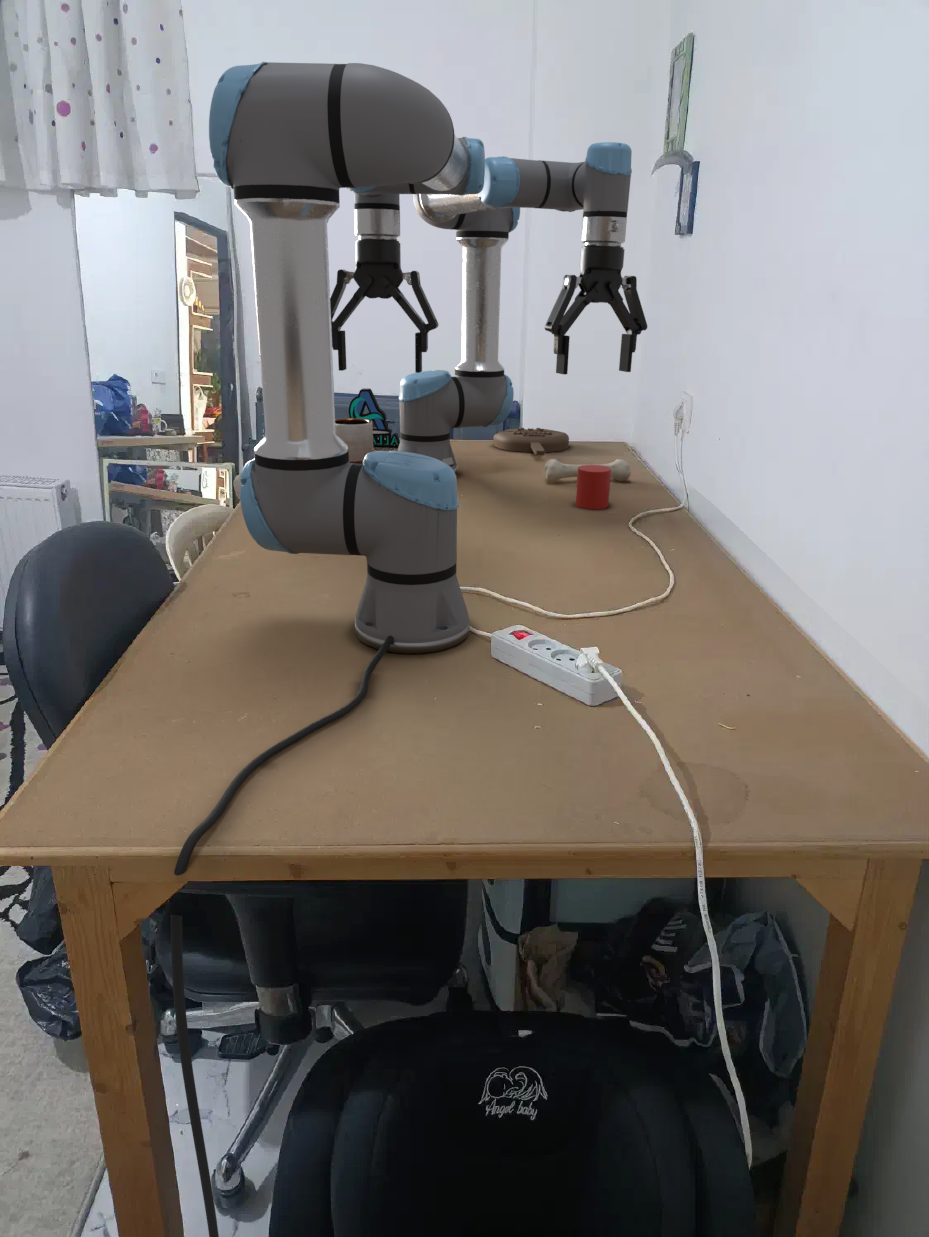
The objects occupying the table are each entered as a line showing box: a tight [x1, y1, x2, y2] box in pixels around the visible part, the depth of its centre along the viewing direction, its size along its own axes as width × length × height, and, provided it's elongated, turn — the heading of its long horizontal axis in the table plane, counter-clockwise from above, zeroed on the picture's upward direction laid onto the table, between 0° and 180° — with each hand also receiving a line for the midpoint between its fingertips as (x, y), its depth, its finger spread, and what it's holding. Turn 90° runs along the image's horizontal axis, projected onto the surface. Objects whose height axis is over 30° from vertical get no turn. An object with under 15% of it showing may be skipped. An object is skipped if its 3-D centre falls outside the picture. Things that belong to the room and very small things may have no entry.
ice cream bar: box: [492, 427, 570, 457], centre depth 228 cm, size 21×28×4 cm
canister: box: [575, 465, 612, 510], centre depth 175 cm, size 7×7×8 cm
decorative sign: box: [348, 387, 400, 448], centre depth 229 cm, size 19×2×15 cm, turn 86°
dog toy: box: [543, 458, 632, 482], centre depth 196 cm, size 20×6×5 cm, turn 99°
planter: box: [335, 417, 375, 464], centre depth 212 cm, size 11×11×10 cm
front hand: (380, 371), depth 149 cm, fingers open, 13 cm apart
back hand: (593, 372), depth 154 cm, fingers open, 13 cm apart
